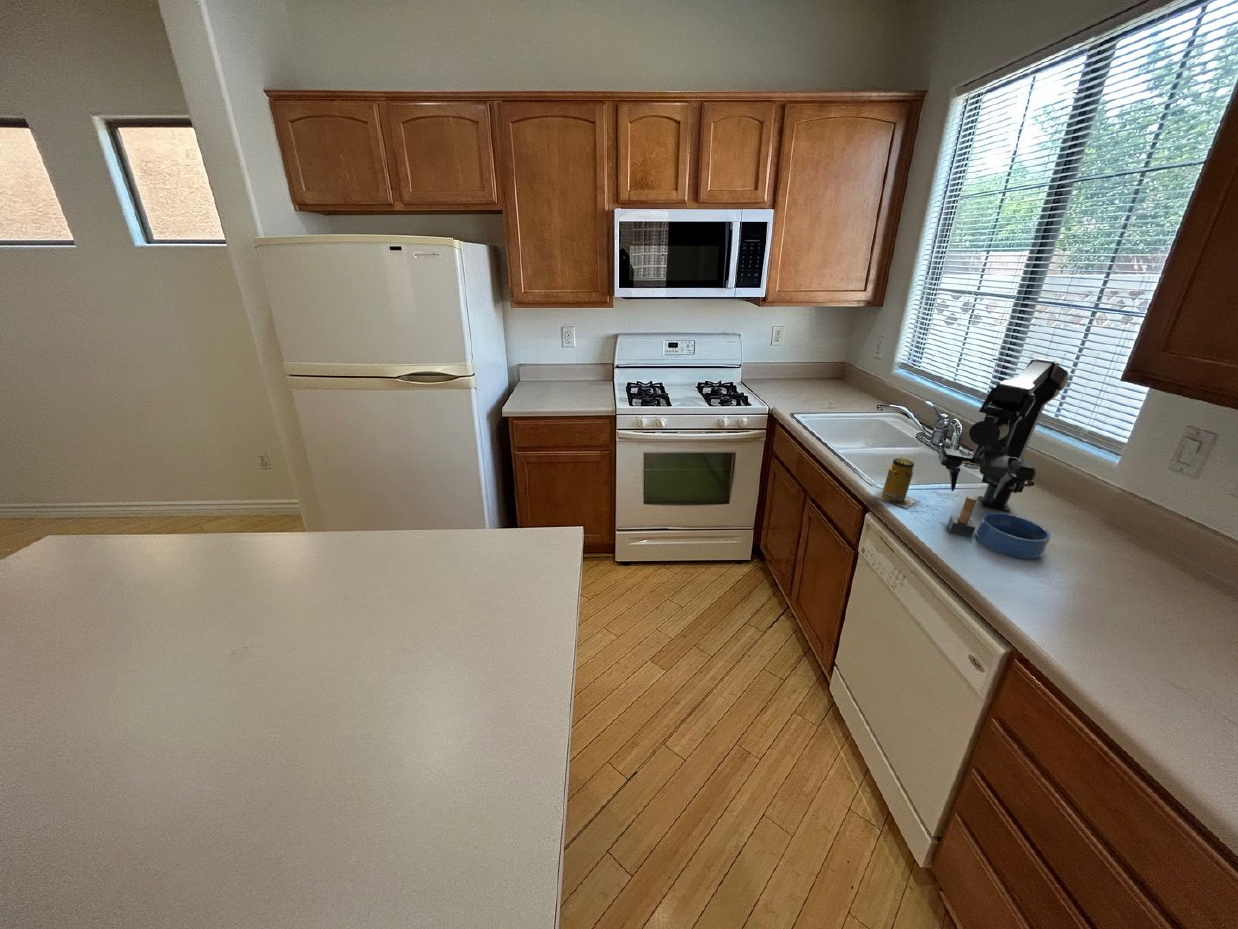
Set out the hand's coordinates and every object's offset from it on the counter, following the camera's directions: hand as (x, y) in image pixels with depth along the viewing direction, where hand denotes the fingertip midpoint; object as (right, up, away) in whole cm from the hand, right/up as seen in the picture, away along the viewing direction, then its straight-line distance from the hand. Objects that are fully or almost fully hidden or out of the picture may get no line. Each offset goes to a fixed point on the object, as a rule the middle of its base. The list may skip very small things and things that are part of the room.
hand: (973, 494), depth 119 cm
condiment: (-8, -3, +20) cm, 22 cm away
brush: (0, -10, +4) cm, 11 cm away
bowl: (+8, -13, -1) cm, 15 cm away
